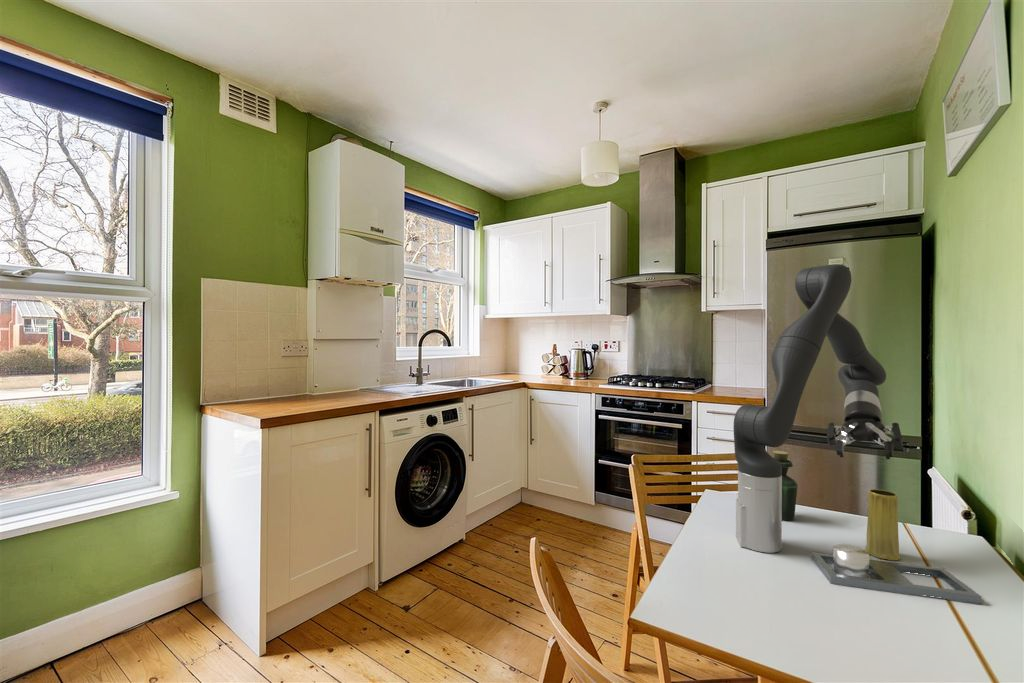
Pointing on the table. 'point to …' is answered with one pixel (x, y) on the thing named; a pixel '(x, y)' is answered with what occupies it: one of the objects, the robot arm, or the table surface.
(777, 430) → the robot arm
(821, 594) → the table surface
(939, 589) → the grey rectangular frame
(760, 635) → the table surface
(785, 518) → the potion bottle
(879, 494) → the vase
